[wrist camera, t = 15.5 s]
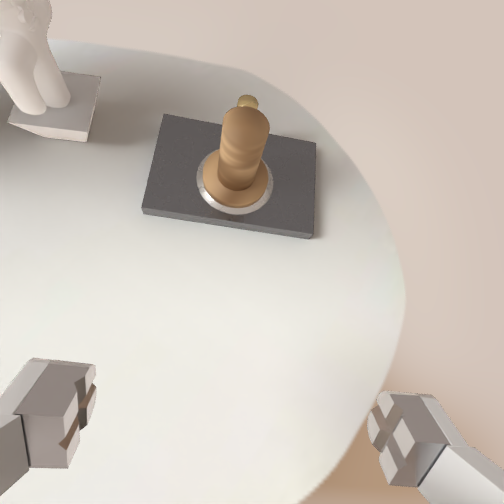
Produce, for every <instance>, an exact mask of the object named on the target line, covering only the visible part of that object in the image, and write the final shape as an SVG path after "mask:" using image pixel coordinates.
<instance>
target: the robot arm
mask: <svg viewBox="0 0 504 504" xmlns="http://www.w3.org/2000/svg"><path fill="white" fill-rule="evenodd" d="M95 376H96V368H95V365H93V364H86V363H77V362H69V361H60V360H49V359H40V358H32V359H31V360H29V361H28V362H26V364H25V365H24V366H23V368H22V369H21V370H20V371H19V373H18V374H17V375H16V377H15V378H14V379H13V380H12V382H11V383H10V384H9V386H8V387H7V388H6V389H5V391H4V392H3V393H2V394H1V396H0V496H1V495H2V494H3V493H4V492H5V491H7V490H8V489H9V488H10V487H11V486H12V485H13V484H14V483H15V482H17V481H18V480H19V479H20V478H21V477H22V476H23V475H24V474H25V473H27V472H28V471H29V468H68V467H69V465H70V463H71V460H72V458H73V456H74V454H75V451H76V449H77V447H78V445H79V442H80V433H79V431H80V430H81V429H83V428H84V427H85V426H86V425H87V424H88V422H89V420H90V417H91V415H92V412H93V408H94V405H95V399H96V386H95V385H94V384H93V383H92V382H93V380H94V378H95ZM376 400H377V403H378V406H376V407H375V408H373V409H372V410H371V412H370V414H369V416H368V424H367V429H368V433H369V437H370V440H371V442H372V445H373V446H374V447H375V448H376V449H377V450H378V451H379V452H380V457H379V462H380V465H381V467H382V469H383V472H384V474H385V477H386V479H387V481H388V484H389V485H395V486H406V487H407V486H408V487H418V490H419V491H420V493H421V494H422V495H423V496H424V497H425V498H426V500H427V501H428V502H429V503H430V504H504V470H503V469H501V468H500V467H499V466H498V465H496V464H495V463H494V462H493V461H491V460H490V459H489V458H487V457H486V456H485V455H484V454H482V453H481V452H480V451H478V450H477V449H476V448H474V447H469V446H468V444H467V443H466V441H465V440H464V438H463V437H462V435H461V434H460V433H459V431H458V430H457V428H456V427H455V425H454V424H453V422H452V421H451V419H450V418H449V416H448V415H447V414H446V412H445V411H444V409H443V408H442V406H441V405H440V403H439V402H438V400H437V399H436V398H435V397H434V396H432V395H427V394H413V393H405V392H392V391H382V392H381V393H379V395H378V397H377V399H376Z"/></svg>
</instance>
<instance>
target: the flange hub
mask: <svg viewBox="0 0 504 504" xmlns="http://www.w3.org/2000/svg"><path fill="white" fill-rule="evenodd" d="M269 130H270V126H269V122H268V120H267V118H266V117H265V115H264V114H263V113H261V112H260V111H259V110H257V109H255V108H252V107H248V106H238V107H234V108H232V109H230V110H229V111H228V112H227V113H226V114H225V116H224V118H223V125H222V134H221V143H220V149H219V150H217V151H215V152H213V153H212V154H211V155H210V156H209V157H208V158H207V160H206V162H205V164H204V167H203V184H204V187H205V190H206V191H207V193H208V194H209V196H210V197H211V198H212V199H213V200H215V201H216V202H217V203H219V204H221V205H223V206H226V207H230V208H244V207H248V206H251V205H253V204H254V203H256V202H257V201H259V199H260V198H261V197H262V196H263V194H264V192H265V190H266V187H267V184H268V171H267V168H266V166H265V164H264V162H263V161H262V160H261V156H262V153H263V150H264V147H265V144H266V141H267V137H268V134H269Z"/></svg>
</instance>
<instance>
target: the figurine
mask: <svg viewBox="0 0 504 504" xmlns="http://www.w3.org/2000/svg"><path fill="white" fill-rule="evenodd" d="M51 18H52V10H51V5H50V1H49V0H0V36H1V37H0V82H1V84H2V85H3V87H4V88H5V89H6V91H7V92H8V94H9V95H10V97H11V98H12V100H13V101H14V104H13V107H12V110H11V113H10V116H9V118H8V121H7V122H8V123H10V124H13V125H15V126H18V127H20V128H22V129H25V130H27V131H30V132H32V133H35V134H37V135H40V136H42V137H46V138H55V139H63V140H71V141H80V142H87V138H88V134H89V130H90V126H91V122H92V118H93V114H94V109H95V104H96V99H97V94H98V89H99V84H100V79H101V77H98V76H92V75H85V74H78V73H71V72H65V71H60V70H59V68H58V66H57V64H56V62H55V60H54V57H53V55H52V53H51V51H50V48H49V45H48V42H47V36H46V35H47V30H48V28H49V25H50V22H51Z"/></svg>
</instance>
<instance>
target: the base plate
mask: <svg viewBox="0 0 504 504" xmlns="http://www.w3.org/2000/svg"><path fill="white" fill-rule="evenodd" d="M221 134H222V125H220V124H215V123H209V122H204V121H199V120H194V119H189V118H183V117H178V116H173V115H168V114H164V115H163V120H162V124H161V128H160V132H159V136H158V140H157V144H156V149H155V153H154V157H153V161H152V165H151V169H150V174H149V178H148V182H147V186H146V190H145V194H144V198H143V203H142V207H141V208H142V211H143V214H148V215H154V216H161V217H167V218H174V219H180V220H187V221H193V222H200V223H206V224H213V225H219V226H226V227H232V228H239V229H245V230H252V231H258V232H265V233H271V234H278V235H284V236H291V237H297V238H304V239H309V238H310V237H311V236H312V235H313V227H314V193H315V159H316V143H314V142H309V141H303V140H298V139H293V138H288V137H283V136H277V135H272V134H268V137H267V141H266V144H265V147H264V150H263V153H262V156H261V160H262V161H263V162H264V164H265V166H266V168H267V171H268V184H267V187H266V190H265V192H264V194H263V196H262V197H261V198H260V199H259V201H257V202H256V203H254V204H253V205H251V206H248V207H244V208H230V207H226V206H223V205H221V204H219V203H217V202H216V201H215V200H213V199H212V198H211V197H210V196H209V194H208V193H207V191H206V190H205V187H204V184H203V167H204V164H205V162H206V160H207V158H208V157H209V156H210V155H211V154H212V153H213V152H215V151H217V150H219V149H220V143H221Z"/></svg>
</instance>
